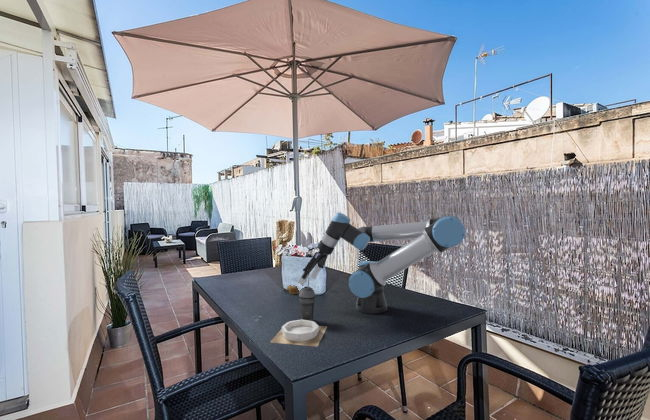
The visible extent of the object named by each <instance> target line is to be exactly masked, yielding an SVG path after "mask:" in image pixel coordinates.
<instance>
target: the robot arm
mask: <svg viewBox="0 0 650 420" xmlns="http://www.w3.org/2000/svg"><path fill="white" fill-rule="evenodd" d="M350 222H351V218H350V217H349V216H347V215H345V214H344V213H342V212H336V213H335V214H334V216H333V218H331V221H330V223H329V225H328V227H327V228H326V230H325V231H324V232H323V233H322V234H323V236H321V237H322V238H321V240H320V241H319V242H318V244H317V245H316V247H317V249H318V251H317V252H315V253H314V254H313V255H312V257H311V259H310V260H309V261H308V263H307V264H306V265H305V267H304V268H303V270H302V271H303V273H302V274H301V276H300V278H299V279H298V281H297V282H298V283H300V284H301V285H302V286H305V283H306V282H307V281H308V277H311V278H312V279H314V280H316V278H317V277H318V275H319V273H320V271H321V269H324V267H325V265H326V262H327V259H328V256H329V255H332V254H333V252H334V250H335V247H336V246H337V245H338V243H339V241H340V239H342V240H344V241H345V242H347V243H348V244H350V245H351V246H353V247H354V248H355V249H357V250H360V251H363V250H365V249H366V247H367V246H368V244H369V243H373V242H376V243H377V242H391V241H406V240H410V241H409V242H408V243H406V244H404V245H403V246H401V247H400V248H398V249H396V250H394V251H393V252H391V253H390V254H388V255H386V256H385V257H383V258H382V259H380V260H378V261H372V260H371V261H368V260H367V261H366V260H361V261H359V264H358V269H356V270H355V271H354V272H352V273H351V274H350V275H349V277H348V278H349V279H348V286H349V290H350V292H351V293H352V294H354V296H356V297H357V300H356V303H355V310H357V311H359V312H361V313H365V314H370V315H371V314H376V315H377V314H382V313H385V312H386V311H388V302H387V300H386V297H385V293H384V286H386V284H387V281H388V280H389V279H391V278H393V277H394V276H396V275H398V274H399V273H401V272H403V271H404V270H405V271H406V269H408V268H410V267H411V266H413V265H415V264H417V263H419V262H420V261H422V260H424V259H425V258H427V257H428V256H430V255H432V254H434V253H438V254H441V253H443V252H445V251H446V250H448V249H450V248H455V247H457V246H459V245H460V244H461V243H462V242H463V241H464V240H465V236H466V227H465V225H464V223H463V222H462V220H461V219H460V218H458V217H457V216H454V215H450V214H449V215H444V216H440V217H436V218H429V219H428V220H426V221H416V222H408V223H397V224H384V225H376V226H375V225H372V226H361V227H358V228H357V227H355V226H354V225H352V224H351V223H350Z"/></svg>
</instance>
